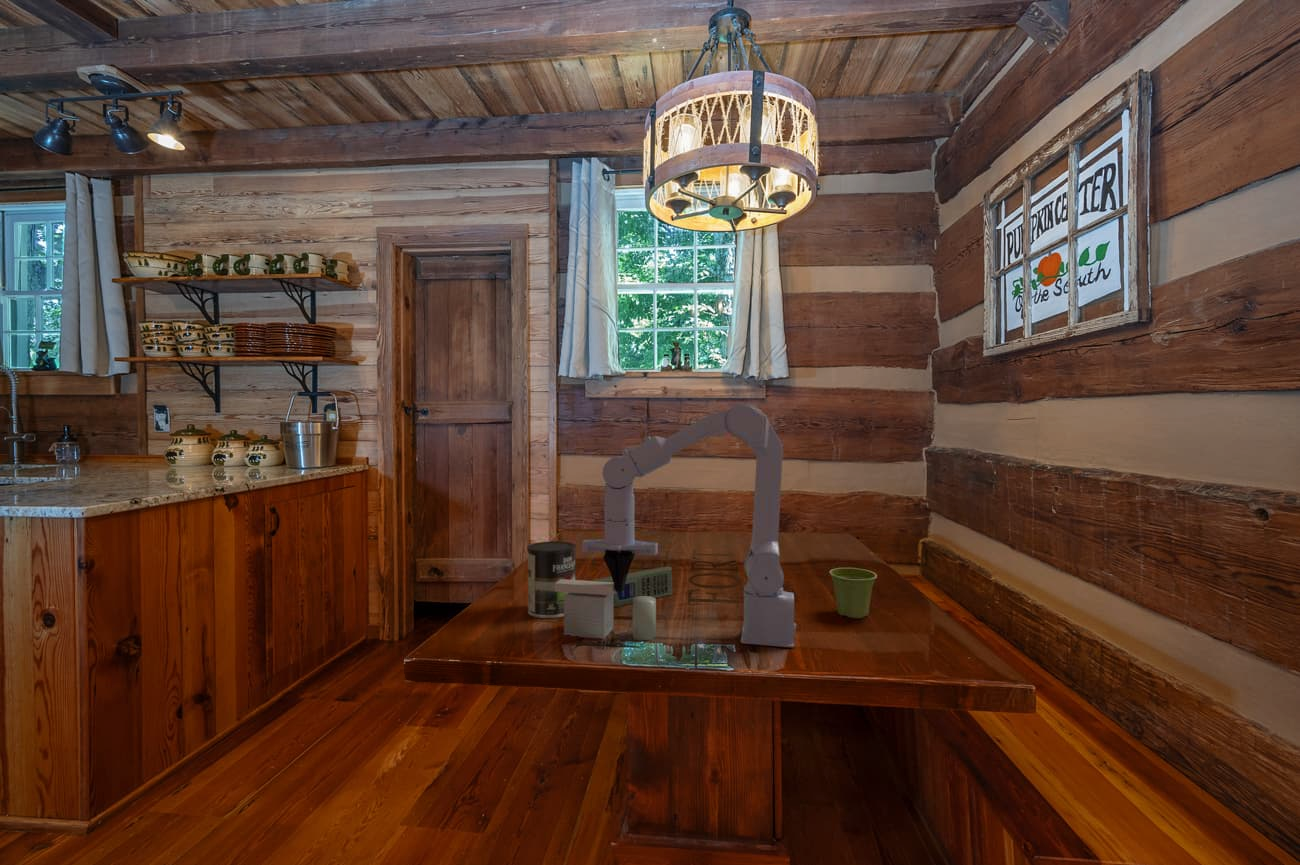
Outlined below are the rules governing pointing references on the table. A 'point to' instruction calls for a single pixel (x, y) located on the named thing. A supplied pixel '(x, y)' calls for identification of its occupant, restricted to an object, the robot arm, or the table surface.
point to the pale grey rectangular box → (585, 587)
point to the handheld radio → (643, 585)
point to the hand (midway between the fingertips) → (619, 590)
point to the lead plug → (644, 618)
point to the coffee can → (548, 577)
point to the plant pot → (853, 591)
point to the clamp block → (588, 615)
